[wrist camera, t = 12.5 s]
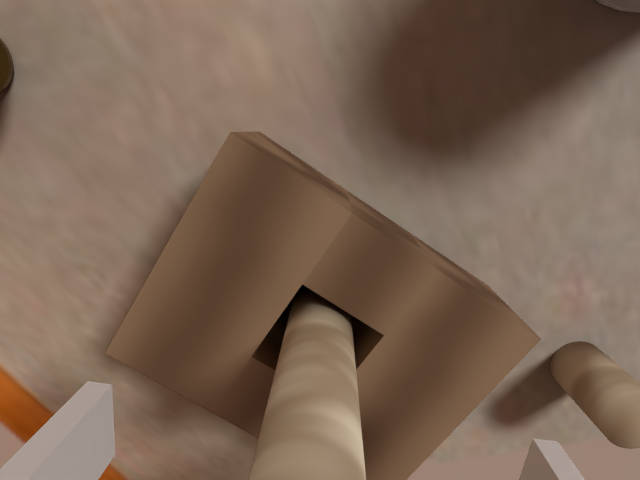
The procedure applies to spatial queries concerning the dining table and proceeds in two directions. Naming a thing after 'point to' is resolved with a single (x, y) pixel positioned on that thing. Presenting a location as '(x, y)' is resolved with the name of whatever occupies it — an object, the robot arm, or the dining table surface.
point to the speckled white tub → (622, 5)
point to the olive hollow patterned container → (5, 66)
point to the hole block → (332, 284)
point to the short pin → (600, 391)
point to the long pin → (313, 399)
